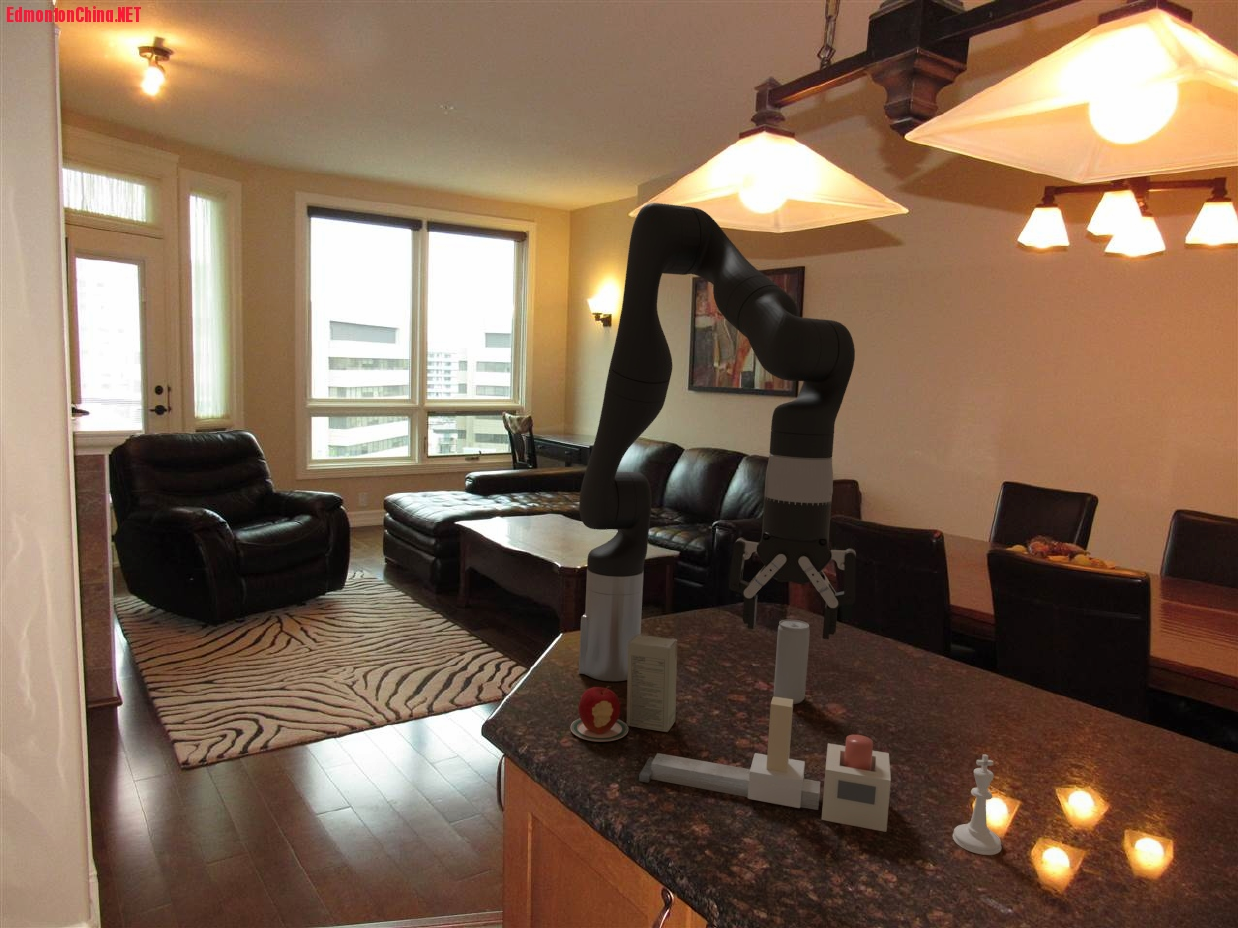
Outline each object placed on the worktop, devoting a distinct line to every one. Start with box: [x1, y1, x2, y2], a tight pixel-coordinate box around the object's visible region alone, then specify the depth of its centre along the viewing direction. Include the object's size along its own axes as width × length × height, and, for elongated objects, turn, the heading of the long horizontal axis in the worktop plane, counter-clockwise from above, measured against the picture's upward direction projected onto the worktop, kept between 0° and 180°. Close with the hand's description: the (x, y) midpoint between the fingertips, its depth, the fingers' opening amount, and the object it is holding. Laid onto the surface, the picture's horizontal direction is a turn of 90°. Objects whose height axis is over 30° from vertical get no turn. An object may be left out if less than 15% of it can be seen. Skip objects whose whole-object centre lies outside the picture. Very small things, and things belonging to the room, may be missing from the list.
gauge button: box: [844, 734, 874, 771], centre depth 95 cm, size 3×3×5 cm
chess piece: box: [952, 753, 1003, 856], centre depth 90 cm, size 5×5×10 cm
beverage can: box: [773, 619, 811, 705], centre depth 127 cm, size 5×5×12 cm
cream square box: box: [821, 742, 892, 833], centre depth 95 cm, size 7×7×6 cm
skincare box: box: [626, 634, 678, 733], centre depth 116 cm, size 6×4×12 cm
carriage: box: [747, 695, 806, 809], centre depth 97 cm, size 6×5×11 cm
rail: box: [638, 752, 821, 811], centre depth 100 cm, size 21×5×2 cm, turn 74°
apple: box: [569, 685, 629, 743], centre depth 113 cm, size 8×8×6 cm
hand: (788, 632), depth 96 cm, fingers open, 8 cm apart
